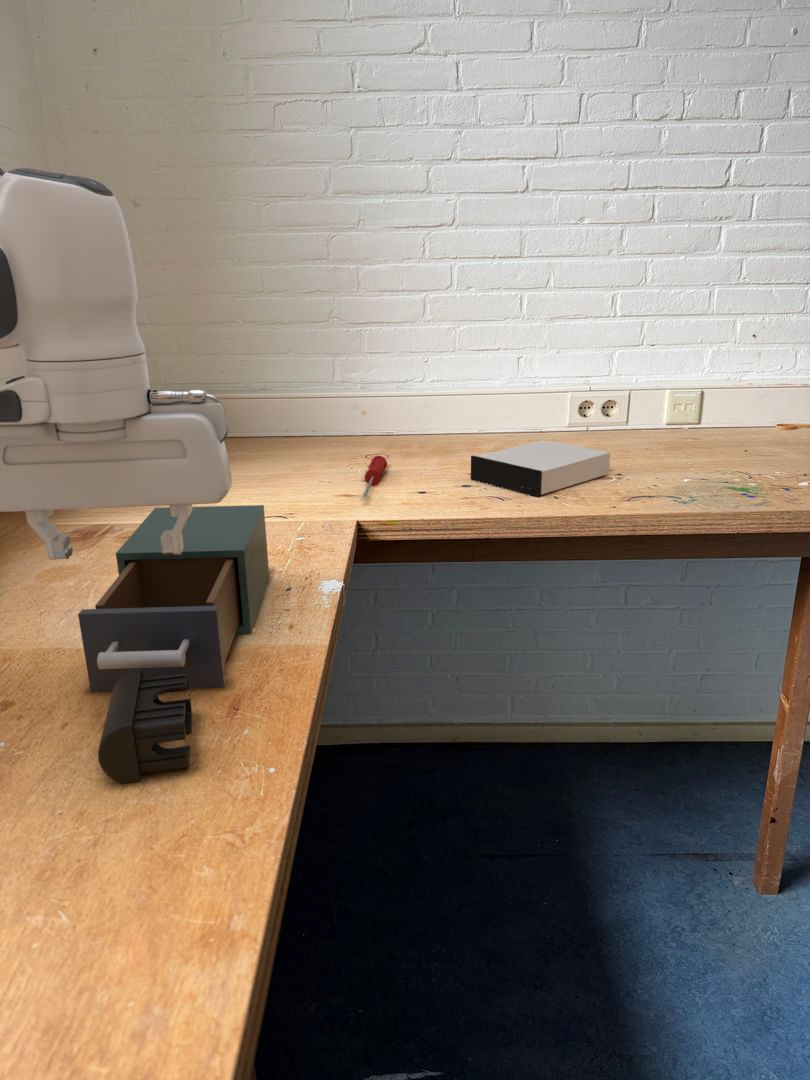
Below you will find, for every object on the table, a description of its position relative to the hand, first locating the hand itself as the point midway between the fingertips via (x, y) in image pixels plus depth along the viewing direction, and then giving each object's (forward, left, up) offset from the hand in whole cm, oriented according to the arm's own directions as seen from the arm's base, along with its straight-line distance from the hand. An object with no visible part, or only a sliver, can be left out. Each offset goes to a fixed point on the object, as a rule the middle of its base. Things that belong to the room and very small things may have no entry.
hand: (117, 555), depth 68 cm
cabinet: (-1, +32, -19) cm, 37 cm away
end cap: (+1, -2, -19) cm, 19 cm away
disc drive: (+55, +91, -19) cm, 108 cm away
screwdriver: (+21, +87, -19) cm, 91 cm away
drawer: (-1, +14, -18) cm, 23 cm away
